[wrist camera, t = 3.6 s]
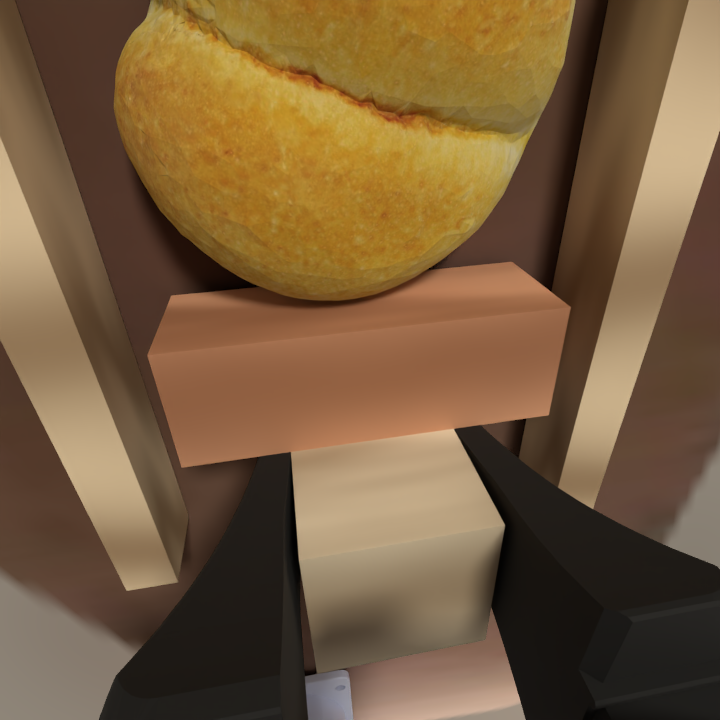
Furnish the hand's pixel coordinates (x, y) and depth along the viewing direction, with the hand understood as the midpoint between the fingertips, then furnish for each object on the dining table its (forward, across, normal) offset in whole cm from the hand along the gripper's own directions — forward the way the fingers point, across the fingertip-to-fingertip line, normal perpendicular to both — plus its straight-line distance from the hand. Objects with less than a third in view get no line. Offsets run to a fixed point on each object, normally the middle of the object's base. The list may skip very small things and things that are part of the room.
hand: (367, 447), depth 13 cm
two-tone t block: (+2, 0, -1) cm, 2 cm away
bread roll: (+3, 0, -9) cm, 9 cm away
